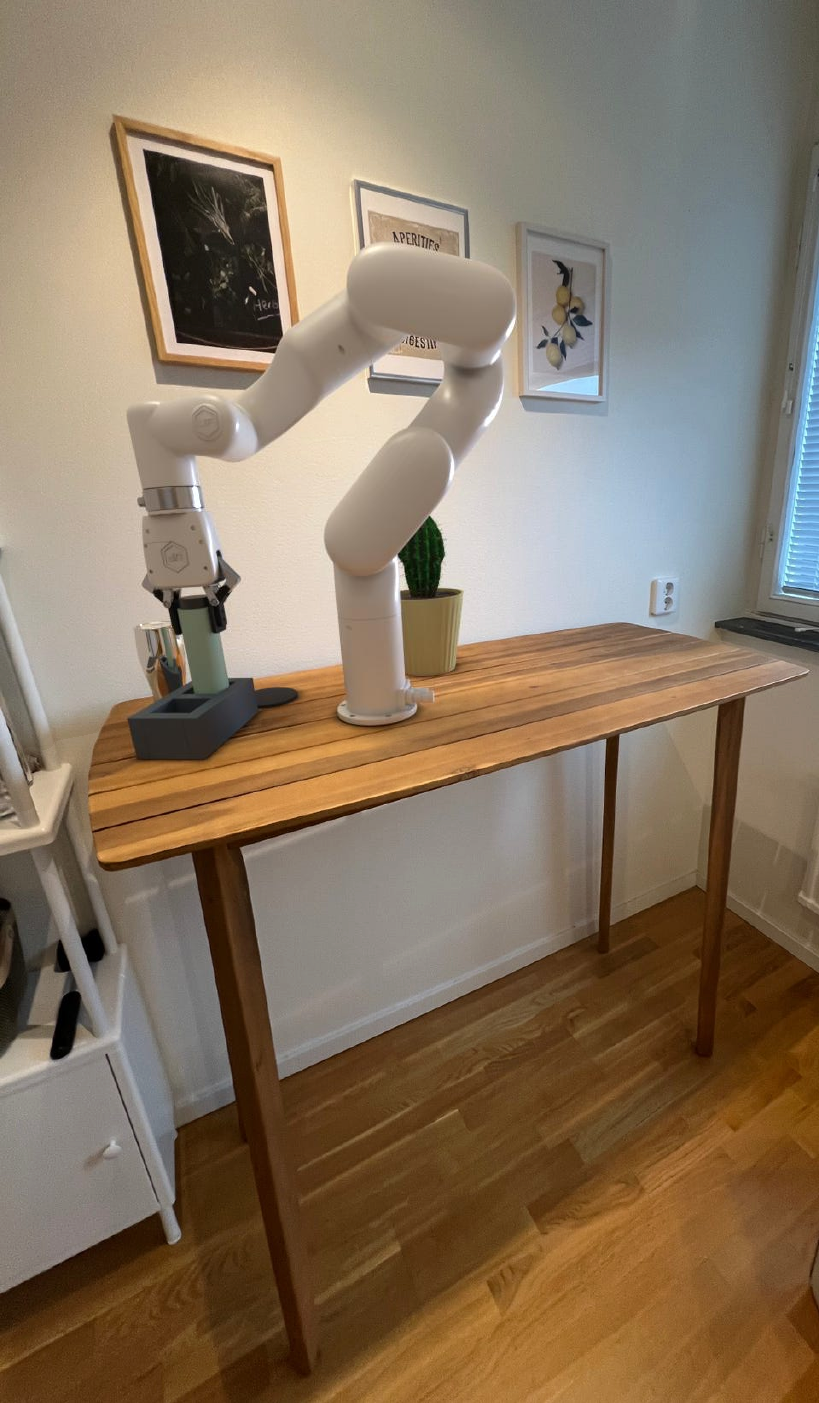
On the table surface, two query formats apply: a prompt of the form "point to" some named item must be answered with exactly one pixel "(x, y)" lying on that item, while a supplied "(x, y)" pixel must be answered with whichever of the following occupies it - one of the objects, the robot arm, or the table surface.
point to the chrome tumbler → (161, 657)
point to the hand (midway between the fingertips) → (200, 631)
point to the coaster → (274, 696)
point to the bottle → (202, 646)
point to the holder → (192, 721)
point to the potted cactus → (428, 606)
